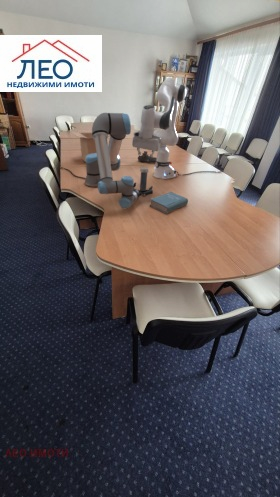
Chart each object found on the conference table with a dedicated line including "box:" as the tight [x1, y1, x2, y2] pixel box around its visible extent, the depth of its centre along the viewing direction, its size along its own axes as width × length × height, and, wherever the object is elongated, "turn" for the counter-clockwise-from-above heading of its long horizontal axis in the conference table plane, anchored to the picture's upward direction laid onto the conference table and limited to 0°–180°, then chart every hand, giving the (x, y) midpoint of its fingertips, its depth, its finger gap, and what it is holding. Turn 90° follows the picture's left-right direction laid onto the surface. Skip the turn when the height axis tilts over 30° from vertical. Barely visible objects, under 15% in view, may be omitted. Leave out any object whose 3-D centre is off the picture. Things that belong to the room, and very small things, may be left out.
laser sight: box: [137, 150, 157, 164], centre depth 243 cm, size 10×22×10 cm, turn 78°
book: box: [149, 191, 189, 214], centre depth 157 cm, size 23×16×5 cm
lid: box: [139, 166, 149, 173], centre depth 162 cm, size 6×6×2 cm
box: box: [70, 130, 110, 163], centre depth 229 cm, size 44×36×27 cm
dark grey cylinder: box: [139, 171, 148, 190], centre depth 168 cm, size 5×5×20 cm
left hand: (143, 185), depth 170 cm, fingers open, 13 cm apart
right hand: (145, 155), depth 157 cm, fingers open, 8 cm apart
